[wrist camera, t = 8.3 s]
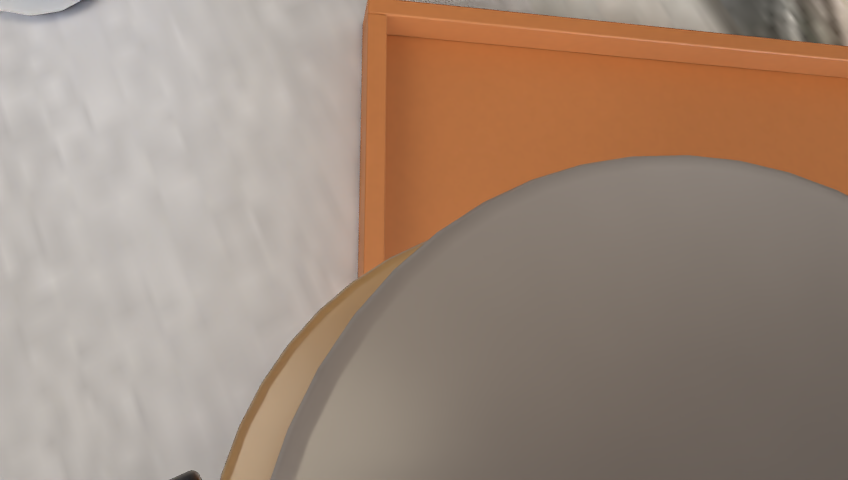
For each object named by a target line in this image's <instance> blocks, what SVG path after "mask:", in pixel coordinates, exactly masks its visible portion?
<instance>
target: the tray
mask: <svg viewBox="0 0 848 480" xmlns="http://www.w3.org/2000/svg"><path fill="white" fill-rule="evenodd" d="M671 155H692V156H701V157H710V158H720V159H729V160H738V161H743V162H747V163H752V164H756V165H760V166H764V167H769V168H773V169H777V170H781V171H785V172H789V173H792V174H795V175H797V176H800V177H803V178H806V179H808V180H811V181H814V182H816V183H819V184H822V185H824V186H827V187H830V188H833V189H835V190H838V191H840V192H842V193H844V194H846V195H848V46H839V45H829V44H819V43H810V42H800V41H790V40H781V39H771V38H761V37H751V36H742V35H732V34H722V33H713V32H703V31H693V30H683V29H674V28H664V27H654V26H645V25H635V24H625V23H616V22H606V21H596V20H586V19H577V18H567V17H557V16H548V15H538V14H528V13H518V12H509V11H499V10H489V9H480V8H470V7H460V6H450V5H441V4H431V3H421V2H412V1H402V0H368V1H367V6H366V11H365V16H364V21H363V39H362V92H361V145H360V198H359V250H358V278H359V277H361V276H362V275H364V274H365V273H367V272H368V271H370V270H372V269H373V268H375V267H376V266H378V265H379V264H381V263H382V262H384V261H385V260H387V259H389V258H391V257H393V256H395V255H397V254H399V253H401V252H404V251H406V250H408V249H410V248H412V247H414V246H416V245H418V244H420V243H423V242H425V241H427V240H429V239H430V238H431V237H432V236H433V235H435V234H436V233H437V232H438V231H440V230H442V229H443V228H445V227H446V226H448V225H449V224H451V223H452V222H454V221H455V220H457V219H458V218H460V217H462V216H463V215H465V214H466V213H468V212H469V211H471V210H472V209H474V208H475V207H477V206H478V205H480V204H482V203H483V202H485V201H487V200H489V199H492V198H494V197H496V196H498V195H500V194H502V193H504V192H507V191H509V190H511V189H513V188H515V187H517V186H519V185H522V184H524V183H526V182H528V181H530V180H532V179H536V178H539V177H542V176H546V175H549V174H552V173H555V172H559V171H562V170H565V169H568V168H572V167H575V166H578V165H582V164H588V163H594V162H600V161H606V160H613V159H619V158H625V157H631V156H671Z"/></svg>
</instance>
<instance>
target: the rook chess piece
mask: <svg viewBox="0 0 848 480" xmlns="http://www.w3.org/2000/svg"><path fill="white" fill-rule="evenodd" d="M79 1H81V0H0V11H6V12H12V13H17V14H23V15H29V16H32V15H39V14H45V13H52V12H59V11H62V10H64V9H66V8H68V7H70V6H72V5H74V4H76V3H77V2H79Z"/></svg>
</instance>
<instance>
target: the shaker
mask: <svg viewBox="0 0 848 480" xmlns="http://www.w3.org/2000/svg"><path fill="white" fill-rule="evenodd" d="M220 480H848V195H846V194H844V193H842V192H840V191H838V190H835V189H833V188H830V187H827V186H824V185H822V184H819V183H816V182H814V181H811V180H808V179H806V178H803V177H800V176H797V175H795V174H792V173H789V172H785V171H781V170H777V169H773V168H769V167H764V166H760V165H756V164H752V163H747V162H743V161H738V160H729V159H720V158H710V157H701V156H692V155H671V156H631V157H625V158H619V159H613V160H606V161H600V162H594V163H588V164H582V165H578V166H575V167H572V168H568V169H565V170H562V171H559V172H555V173H552V174H549V175H546V176H542V177H539V178H536V179H532V180H530V181H528V182H526V183H524V184H522V185H519V186H517V187H515V188H513V189H511V190H509V191H507V192H504V193H502V194H500V195H498V196H496V197H494V198H492V199H489V200H487V201H485V202H483V203H482V204H480V205H478V206H477V207H475V208H474V209H472V210H471V211H469V212H468V213H466V214H465V215H463V216H462V217H460V218H458V219H457V220H455V221H454V222H452V223H451V224H449V225H448V226H446V227H445V228H443V229H442V230H440V231H438V232H437V233H436V234H435V235H433V236H432V237H431V238H430V239H429V240H427V241H425V242H423V243H420V244H418V245H416V246H414V247H412V248H410V249H408V250H406V251H404V252H401V253H399V254H397V255H395V256H393V257H391V258H389V259H387V260H385V261H384V262H382V263H381V264H379V265H378V266H376V267H375V268H373V269H372V270H370V271H368V272H367V273H365V274H364V275H362V276H361V277H359V278H358V279H356V280H355V281H353V282H352V283H351V284H349V285H348V286H347V287H346V288H345V289H343V290H342V291H341V292H340V293H339V294H338V295H336V296H335V297H334V298H333V299H332V300H331V301H329V302H328V303H327V304H326V305H325V306H324V307H322V308H321V309H320V310H319V311H318V312H317V313H316V314H315V315H314V316H313V318H312V319H311V320H310V321H309V322H308V323H307V324H306V325H305V326H304V328H303V329H302V330H301V331H300V332H299V333H298V334H297V335H296V336H295V338H294V339H293V340H292V341H291V342H290V343H289V344H288V346H287V347H286V349H285V350H284V351H283V353H282V354H281V356H280V357H279V359H278V360H277V362H276V363H275V364H274V366H273V367H272V369H271V370H270V372H269V373H268V375H267V376H266V377H265V379H264V380H263V382H262V383H261V385H260V387H259V389H258V391H257V393H256V395H255V397H254V399H253V401H252V403H251V404H250V406H249V408H248V410H247V412H246V414H245V416H244V418H243V420H242V422H241V424H240V426H239V428H238V431H237V433H236V436H235V439H234V442H233V444H232V447H231V450H230V452H229V455H228V458H227V461H226V463H225V466H224V469H223V471H222V474H221V478H220Z"/></svg>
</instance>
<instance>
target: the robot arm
mask: <svg viewBox="0 0 848 480" xmlns="http://www.w3.org/2000/svg"><path fill="white" fill-rule="evenodd" d="M170 480H202V479H201V477H200V475H199V474H198V473H197V472H196V471H193V470H191V471H188V472H186V473H183V474H181V475H179V476H177V477H175V478H172V479H170Z"/></svg>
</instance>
